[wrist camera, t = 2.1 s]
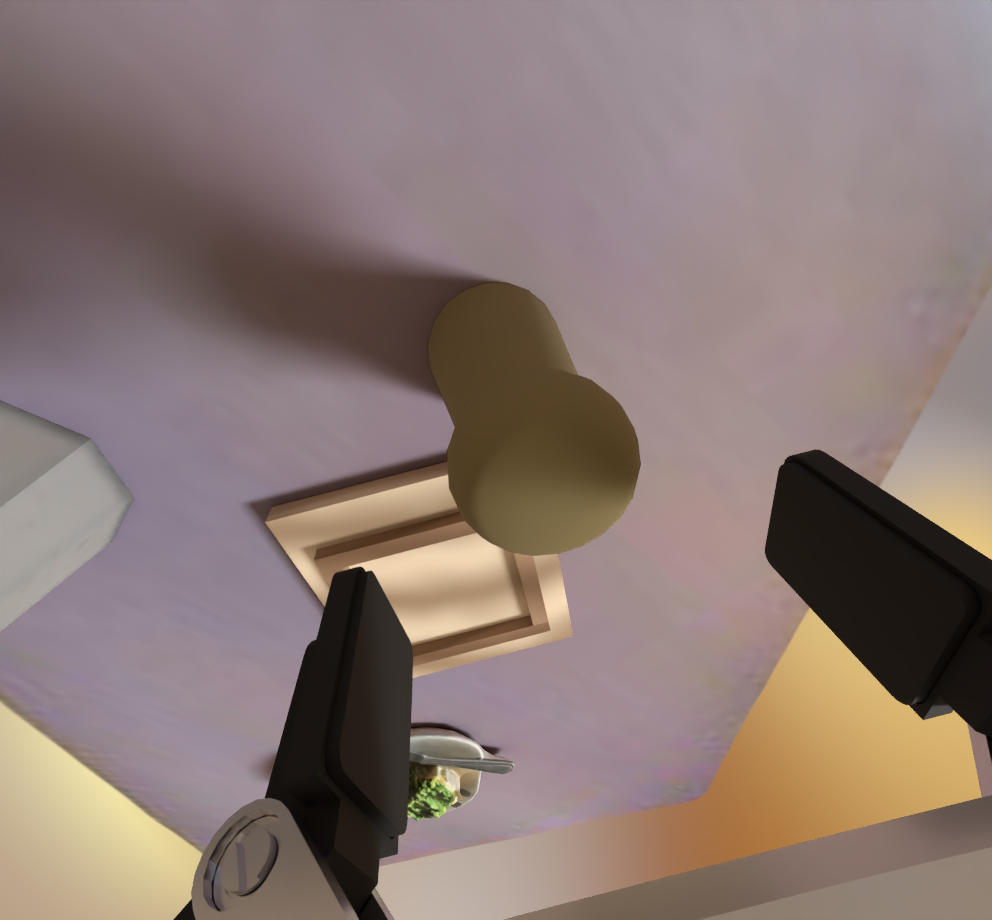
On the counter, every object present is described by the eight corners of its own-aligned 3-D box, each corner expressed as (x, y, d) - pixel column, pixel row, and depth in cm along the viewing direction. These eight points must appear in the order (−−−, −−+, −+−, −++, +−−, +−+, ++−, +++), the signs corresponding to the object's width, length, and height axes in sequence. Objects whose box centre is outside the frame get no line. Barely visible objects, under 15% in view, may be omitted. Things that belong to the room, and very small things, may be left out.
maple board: (272, 507, 22) (260, 533, 21) (533, 438, 22) (542, 459, 21) (382, 670, 31) (379, 697, 30) (568, 621, 31) (576, 646, 30)
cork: (400, 324, 18) (378, 468, 9) (529, 254, 17) (646, 335, 8) (466, 432, 22) (499, 618, 12) (577, 377, 21) (698, 532, 12)
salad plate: (522, 700, 37) (533, 760, 33) (499, 789, 47) (506, 844, 43) (282, 721, 34) (264, 791, 30) (310, 813, 43) (299, 874, 39)
